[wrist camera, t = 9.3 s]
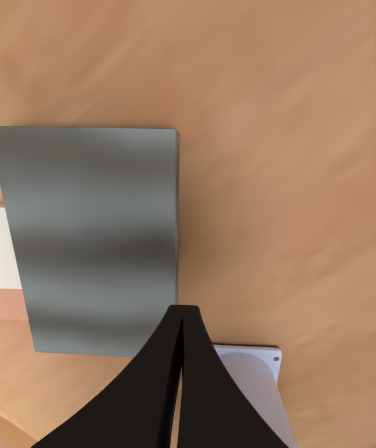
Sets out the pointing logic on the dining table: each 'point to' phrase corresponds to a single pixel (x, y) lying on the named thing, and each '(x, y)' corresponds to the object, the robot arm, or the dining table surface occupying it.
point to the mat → (12, 300)
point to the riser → (93, 233)
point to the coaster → (7, 256)
